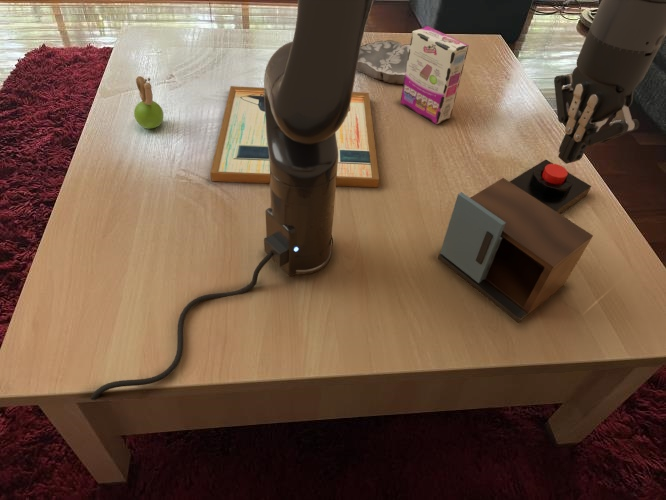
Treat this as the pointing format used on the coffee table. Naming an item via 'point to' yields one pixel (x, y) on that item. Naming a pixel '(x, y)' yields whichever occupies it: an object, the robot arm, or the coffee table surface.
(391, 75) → the grey flat irregular slab
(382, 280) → the coffee table surface
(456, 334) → the coffee table surface
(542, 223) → the cabinet
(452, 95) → the candy bar box
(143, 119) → the snail figurine
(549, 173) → the button
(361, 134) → the picture frame
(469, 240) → the gray sliding door
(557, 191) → the button box
